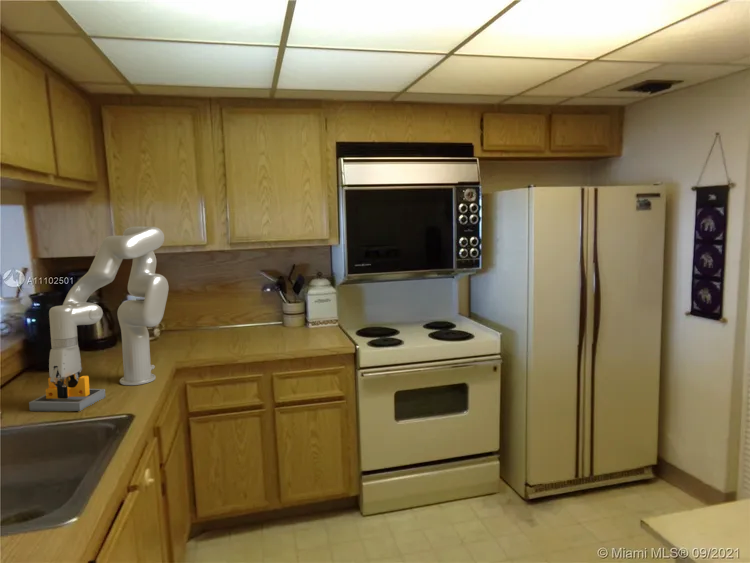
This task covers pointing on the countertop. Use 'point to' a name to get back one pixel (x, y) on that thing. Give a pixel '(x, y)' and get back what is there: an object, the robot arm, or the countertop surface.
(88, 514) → the countertop surface
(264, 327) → the countertop surface
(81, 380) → the pipe clamp
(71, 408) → the parts tray
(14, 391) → the countertop surface
